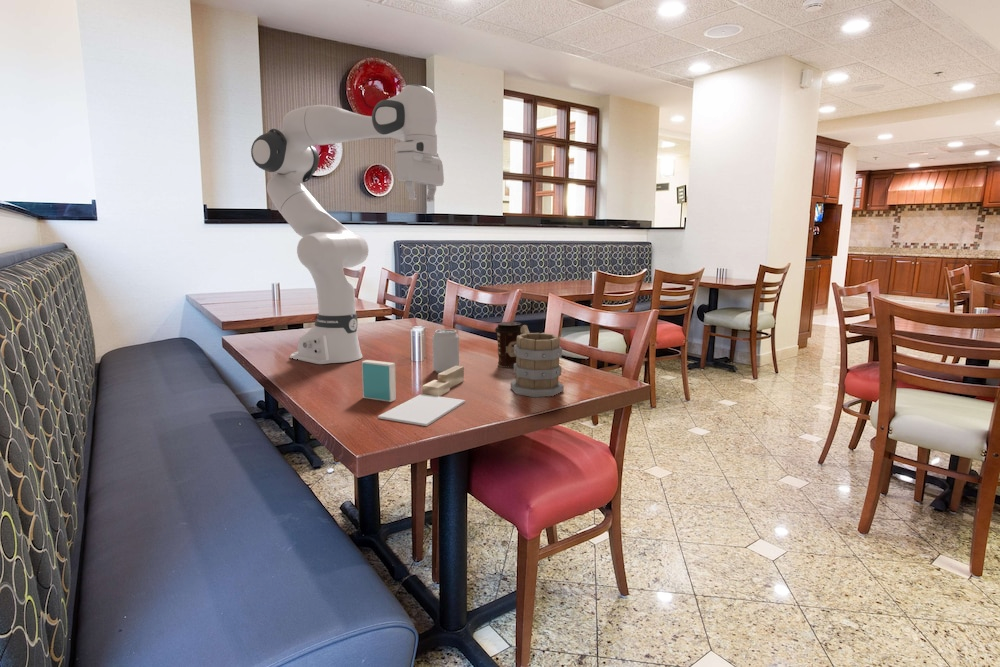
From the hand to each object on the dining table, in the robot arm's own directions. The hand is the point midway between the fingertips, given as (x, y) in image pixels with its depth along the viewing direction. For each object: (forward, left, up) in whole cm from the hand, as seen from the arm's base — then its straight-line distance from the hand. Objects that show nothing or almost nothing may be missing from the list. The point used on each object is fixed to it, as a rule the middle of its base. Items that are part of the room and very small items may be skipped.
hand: (421, 200), depth 153 cm
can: (+7, 0, -48) cm, 49 cm away
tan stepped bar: (+15, -15, -48) cm, 53 cm away
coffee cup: (+21, +14, -48) cm, 55 cm away
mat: (+19, -33, -48) cm, 61 cm away
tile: (+5, -30, -44) cm, 53 cm away
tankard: (+35, -4, -48) cm, 60 cm away
